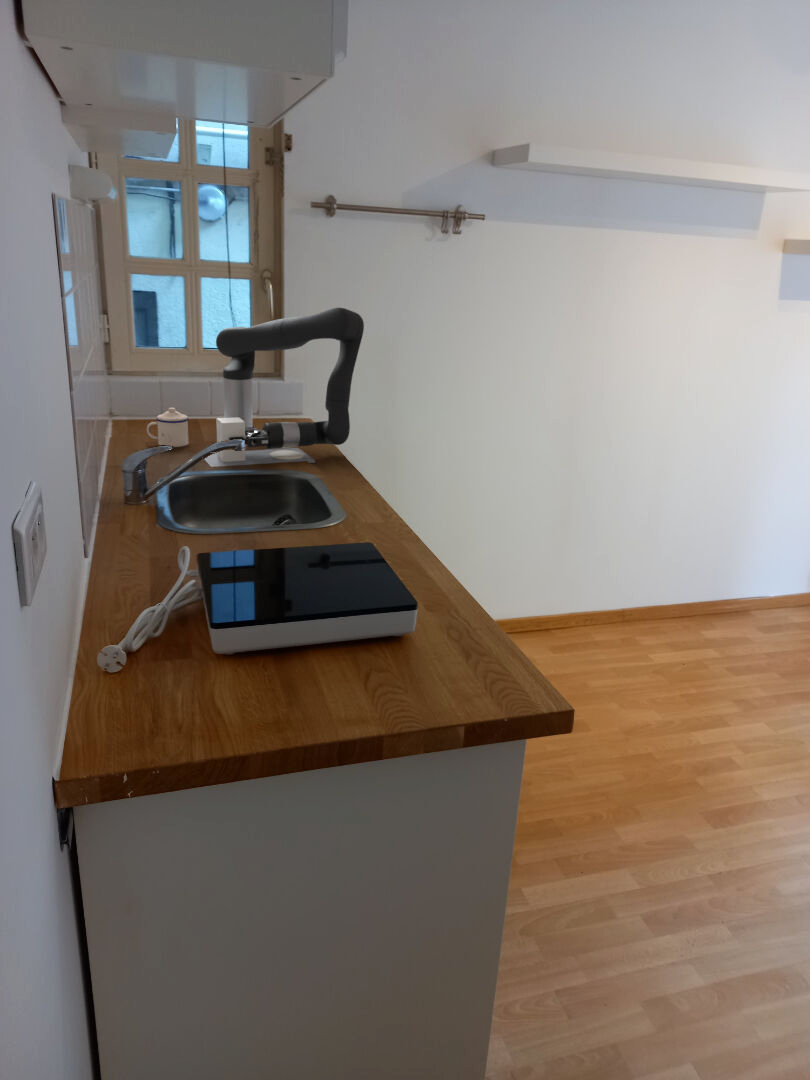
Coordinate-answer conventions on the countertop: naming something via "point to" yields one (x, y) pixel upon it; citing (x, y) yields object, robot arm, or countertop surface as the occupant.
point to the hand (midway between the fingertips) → (225, 437)
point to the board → (263, 457)
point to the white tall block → (227, 430)
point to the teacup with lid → (171, 428)
